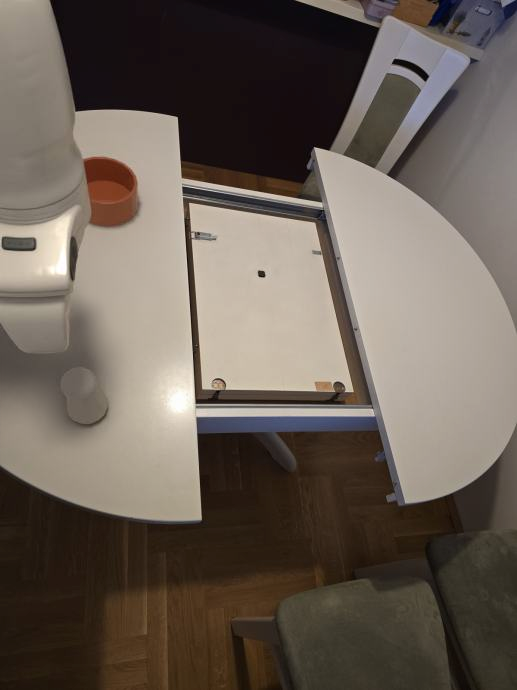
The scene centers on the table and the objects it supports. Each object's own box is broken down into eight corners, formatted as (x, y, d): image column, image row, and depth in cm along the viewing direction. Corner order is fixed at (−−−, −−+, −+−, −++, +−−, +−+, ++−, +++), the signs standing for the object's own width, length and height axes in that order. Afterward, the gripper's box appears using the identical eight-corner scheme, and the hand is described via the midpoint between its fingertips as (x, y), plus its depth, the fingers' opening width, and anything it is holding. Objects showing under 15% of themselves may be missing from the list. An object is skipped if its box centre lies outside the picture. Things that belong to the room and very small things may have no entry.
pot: (66, 219, 75) (61, 195, 70) (81, 175, 81) (76, 150, 75) (132, 231, 78) (131, 209, 73) (141, 188, 83) (141, 165, 78)
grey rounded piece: (101, 431, 60) (91, 407, 49) (63, 422, 59) (44, 396, 48) (114, 396, 63) (107, 366, 52) (78, 387, 62) (63, 354, 51)
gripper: (-4, 102, 34) (34, 215, 46) (-36, 304, 26) (21, 377, 38) (75, 112, 36) (92, 218, 48) (69, 303, 28) (91, 373, 40)
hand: (61, 290), depth 43 cm, fingers open, 8 cm apart
